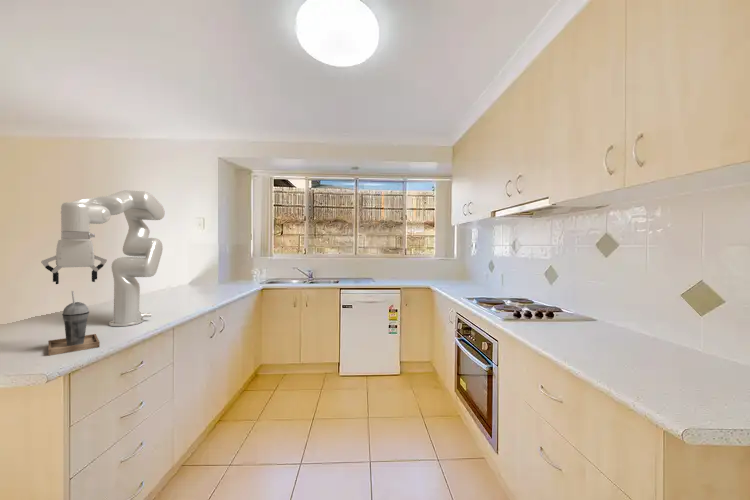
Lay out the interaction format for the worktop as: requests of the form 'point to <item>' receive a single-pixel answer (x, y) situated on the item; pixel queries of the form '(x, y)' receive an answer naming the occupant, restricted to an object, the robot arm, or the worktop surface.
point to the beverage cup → (75, 322)
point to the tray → (61, 346)
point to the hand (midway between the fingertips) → (75, 282)
